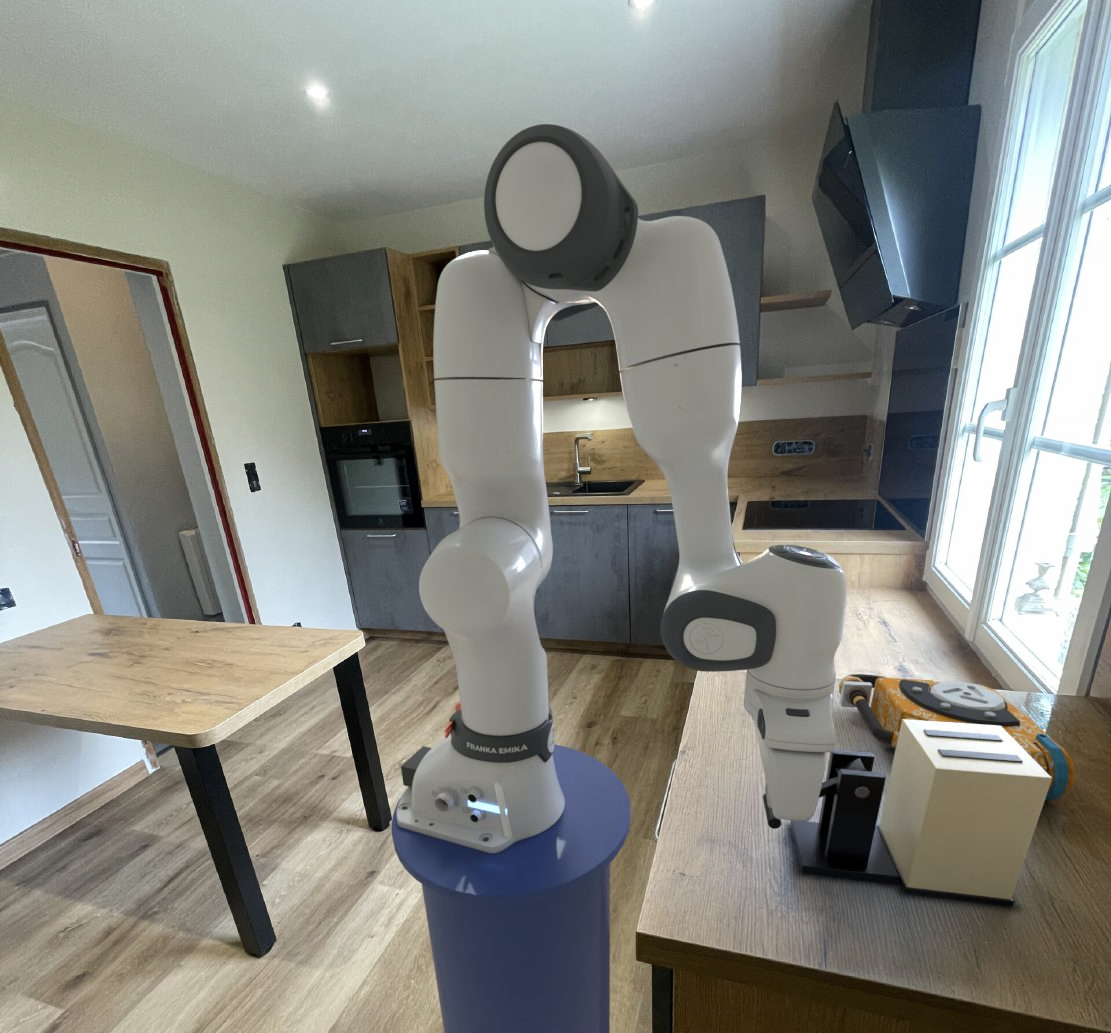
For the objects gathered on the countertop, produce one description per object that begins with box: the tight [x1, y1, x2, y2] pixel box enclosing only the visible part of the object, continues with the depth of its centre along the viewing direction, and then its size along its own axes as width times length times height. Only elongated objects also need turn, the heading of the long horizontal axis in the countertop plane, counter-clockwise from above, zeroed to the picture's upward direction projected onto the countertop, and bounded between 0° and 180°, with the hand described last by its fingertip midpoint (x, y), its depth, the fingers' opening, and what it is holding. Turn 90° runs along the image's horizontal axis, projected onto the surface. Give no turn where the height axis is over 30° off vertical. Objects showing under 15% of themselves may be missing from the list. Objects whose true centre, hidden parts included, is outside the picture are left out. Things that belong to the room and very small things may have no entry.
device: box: [838, 673, 1076, 801], centre depth 88 cm, size 23×8×30 cm
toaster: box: [875, 719, 1052, 907], centre depth 64 cm, size 10×10×16 cm
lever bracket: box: [789, 749, 899, 886], centre depth 66 cm, size 10×8×13 cm
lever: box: [762, 758, 867, 830], centre depth 66 cm, size 12×5×2 cm
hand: (773, 801), depth 68 cm, fingers closed, pressing on lever
